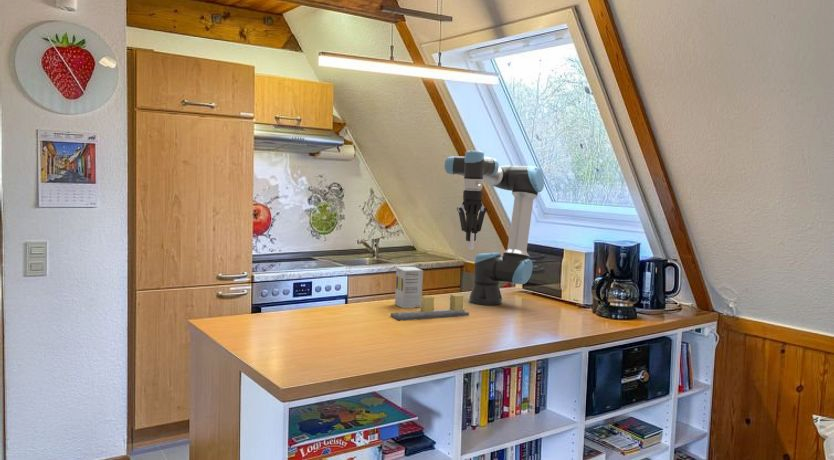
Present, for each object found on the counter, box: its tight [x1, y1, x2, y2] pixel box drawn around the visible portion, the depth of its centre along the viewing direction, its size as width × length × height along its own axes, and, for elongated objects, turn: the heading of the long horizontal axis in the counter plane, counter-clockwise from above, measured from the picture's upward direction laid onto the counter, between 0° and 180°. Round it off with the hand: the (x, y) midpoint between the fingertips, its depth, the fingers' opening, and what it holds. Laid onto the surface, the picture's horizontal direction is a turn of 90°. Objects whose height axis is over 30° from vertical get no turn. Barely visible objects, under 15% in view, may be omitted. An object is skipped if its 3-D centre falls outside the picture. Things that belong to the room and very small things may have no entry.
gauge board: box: [390, 293, 470, 322], centre depth 262 cm, size 8×32×8 cm, turn 116°
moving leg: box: [420, 295, 435, 312], centre depth 260 cm, size 7×4×7 cm, turn 26°
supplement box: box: [394, 266, 424, 309], centre depth 279 cm, size 10×9×17 cm
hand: (470, 249), depth 252 cm, fingers closed
